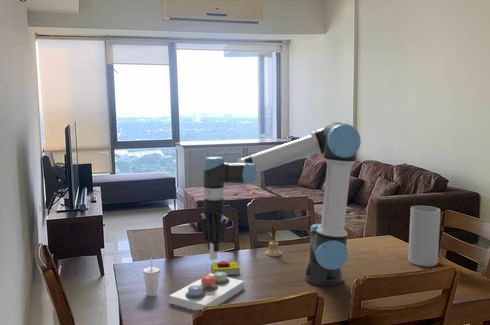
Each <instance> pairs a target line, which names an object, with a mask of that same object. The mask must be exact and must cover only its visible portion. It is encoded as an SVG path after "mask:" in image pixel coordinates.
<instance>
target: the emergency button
mask: <svg viewBox="0 0 490 325" xmlns="http://www.w3.org/2000/svg"><path fill="white" fill-rule="evenodd" d="M207 271H208V275H209V274H214V273H216V272H225V273H226V274H227V276H230V275H231V276H233V275H244V274H245V271H244V269H243V267H242V266H239V264H238V262H237V261H234V260H232V261H227V260H225V261H224V260H223V261H215V262H214V261H213V262H211V266H210V267H208V268H207Z"/></svg>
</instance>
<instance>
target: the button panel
mask: <svg viewBox="0 0 490 325" xmlns="http://www.w3.org/2000/svg"><path fill="white" fill-rule="evenodd" d="M208 275H212V276H213V274H209V273H208ZM193 285H199V286H202V287H203V294H202V295H201V296H198V297H192V296H189V295H188V287H190V286H193ZM244 289H245V280H243V279H237V278H233V277H229V276H227V280H226V281H225V282H215V284H214V285H212V286H204V285H202V284H201V278H200V279H198V280H196V281H194V282H192V283H190V284H188V285H186V286H185V287H183V288H181V289H179V290H177V291H175V292H173V293H171V294H170V295H168V296H169V304H170V305H173V304H174V306H177V305H178V306H177V307H180V306H181V307H182V308H184V307H185V309H187V310H191V309H192V310H191V311H195V310H198V309H201V308H203V307H204V306H208V305H218V304H219V305H221V304H223V303H224V302H226V301H227V300H229V299H230V298H233V296H235V295H237V294H238V293H240V292H241V291H242V290H244ZM219 305H218V306H219Z"/></svg>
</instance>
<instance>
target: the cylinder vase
mask: <svg viewBox="0 0 490 325" xmlns="http://www.w3.org/2000/svg"><path fill="white" fill-rule="evenodd" d="M440 224H441V209H440V208H439V207H436V206H429V205H414V206H413V205H412V206H410V216H409V233H408V234H409V235H408V236H409V238H408V258H407V259H408V262H410V264H412V265H415V266H418V267H428V268H429V267H434V266H436V265H438V262H439V261H438V260H439V244H440V229H441V228H440V227H441V226H440Z"/></svg>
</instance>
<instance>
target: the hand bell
mask: <svg viewBox="0 0 490 325" xmlns="http://www.w3.org/2000/svg"><path fill="white" fill-rule="evenodd" d="M270 231H271V241H269V243H268V248H267V250H266V251H265V252H264V255H266V256H268V257H280V256H282V255H283V253H282V251H281V250H280V247H279V242H277V241H276V234H277V224H276V221H275V220H272V222H271V226H270Z"/></svg>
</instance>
